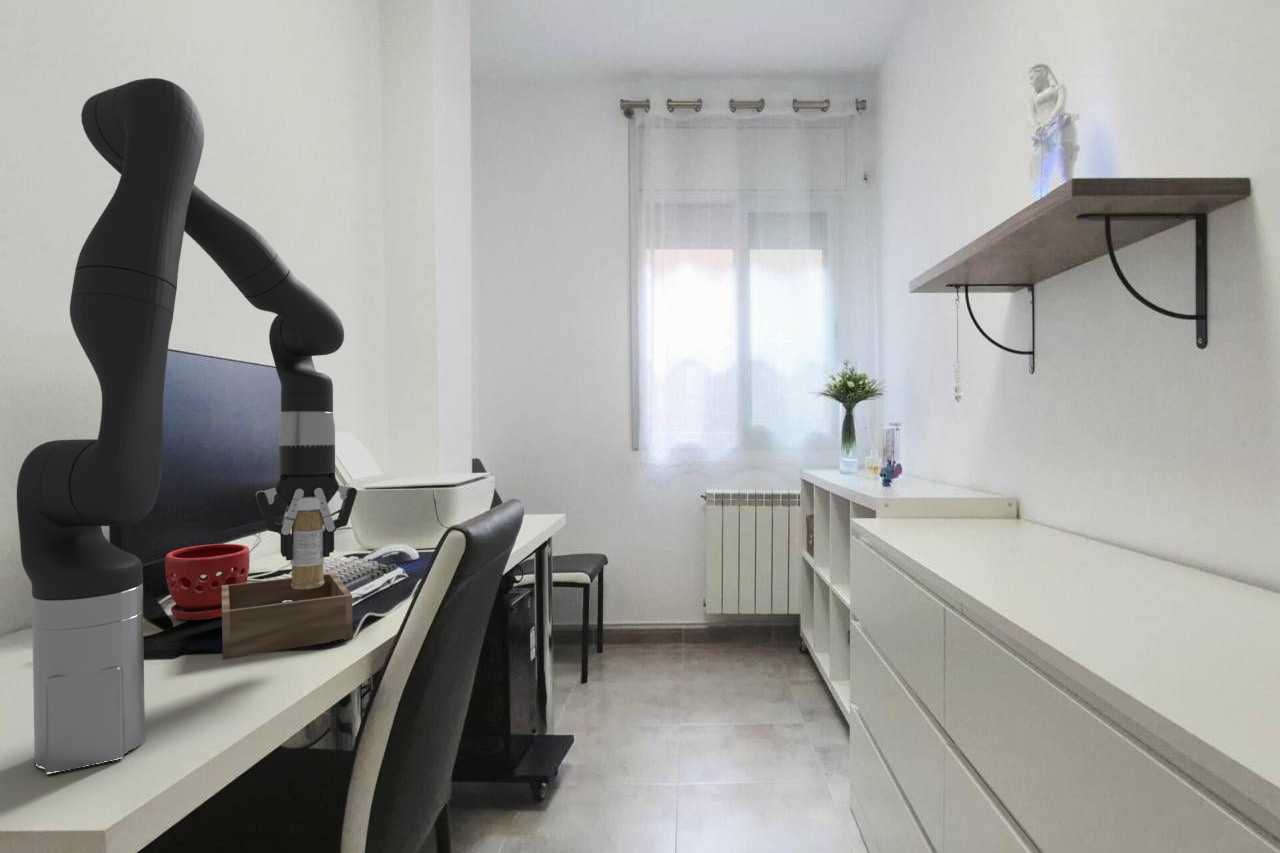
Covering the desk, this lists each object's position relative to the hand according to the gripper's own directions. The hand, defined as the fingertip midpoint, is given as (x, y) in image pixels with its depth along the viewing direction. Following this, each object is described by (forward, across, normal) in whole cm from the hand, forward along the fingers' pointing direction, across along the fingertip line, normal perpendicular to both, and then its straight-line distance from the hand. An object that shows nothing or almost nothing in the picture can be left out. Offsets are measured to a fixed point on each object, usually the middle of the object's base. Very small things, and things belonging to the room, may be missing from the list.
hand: (307, 557), depth 102 cm
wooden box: (+15, -2, +16) cm, 22 cm away
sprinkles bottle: (+5, 0, 0) cm, 5 cm away
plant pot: (+15, -13, +36) cm, 41 cm away
